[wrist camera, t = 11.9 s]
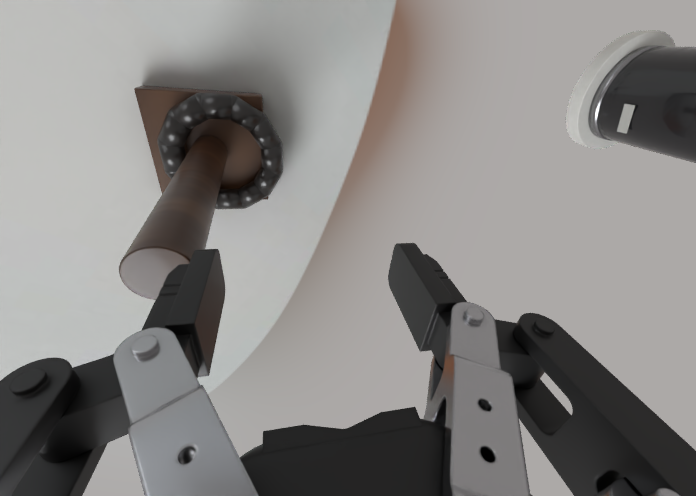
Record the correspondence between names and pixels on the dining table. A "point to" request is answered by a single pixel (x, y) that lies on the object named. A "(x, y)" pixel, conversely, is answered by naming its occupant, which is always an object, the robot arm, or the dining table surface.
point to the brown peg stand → (186, 187)
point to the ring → (223, 108)
